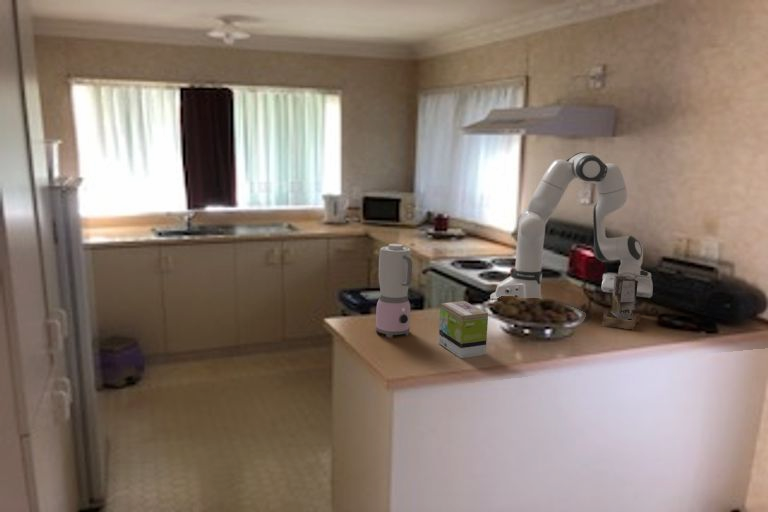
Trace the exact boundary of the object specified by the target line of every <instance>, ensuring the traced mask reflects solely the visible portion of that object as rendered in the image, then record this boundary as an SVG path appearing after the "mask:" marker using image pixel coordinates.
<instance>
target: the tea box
mask: <svg viewBox="0 0 768 512" xmlns="http://www.w3.org/2000/svg"><path fill="white" fill-rule="evenodd" d="M488 321H489V313H488V312H487V311H485V310H483V309H481V308H479V307H477V306H475V305H473V304H471V303H469V302H467V301H465V300H462V301H452V302H451V301H450V302H445V303H443V302H440V307H439V326H438V327H439V330H438V331H439V332H438V344H439V345H441V346H443V347H444V348H446V350H448V351H449V352H450V353H452V354H453V355H455V356H456V357H458V358H459V359H467V358H474V356H475V357H480V356H486V353H487V352H486V351H487V337H488V324H489V323H488Z"/></svg>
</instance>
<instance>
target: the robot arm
mask: <svg viewBox="0 0 768 512" xmlns="http://www.w3.org/2000/svg"><path fill="white" fill-rule="evenodd" d="M574 179H578V180H581V181H584V182H590V183H592V182H594V183H595V185H596V189H597V192H598V193H597V194H598V200H597V203H596V204H595V205H593V212H592V219H593V220H592V221H593V222H592V223H593V255H594V257H595V258H596V259H597V260H599V261H600V262H602V263H604V262H611V261H617V260H618V261H620V265H619V266H618V272H605V273H603V274H602V278H601V279H602V282H601V288H600V289H601V291H602V292H603V293H612V294H613V287H614V277H615V276H630V277H632V278H634V279H635V280H637V281H638V286H637V294H636V297H639V298H640V297H641V298H649V299H650V298H652V297H653V290H654V289H653V287H654V285H653V280H652V273H651V272H649V271H646V270H644V269H642V267H641V266H642V264H643V259H644V249H643V248H644V246H643V245H642V243H641V242H640V241H639V239H636V238H635V237H634V236H632V235H631V236H629V235H626V236H618V237H607V236H606V218H607V216H609V215H611V214H613V213H615V212H617V211H619V210H620V209H621V208H622V207H623V206H624V205H626V203H627V200H628V190H627V187H626V183H625V179H624V175H623V173H622V171H621V169H620V167H619V165H618V164H615V163H613V162H612V163H611V162H609V163H604V162H603V161H602V160H601V159H600V158H599V157H598V156H597V155H594V154H593V153H590V152H586V151H585V152H578V153H575V154H573V156H570V157H569V158H568V159H567V160H566V159H560V158H559V159H555V160H554V161H552V162H551V164H550V165H549V166H548V168H547V169H546V171H545V172H544V174H543V176H542V177H541V180H540V181H539V183H538V184H537V187H536V189H535V190H534V193H533V194H532V196H531V198H530V199H529V201H528V203H527V205H526V207H525V208H524V210H523V212H522V214H521V216H520V217H519V220H518V225H517V226H518V227H517V239H516V252H515V253H516V255H515V266H513V267H512V268H511V269H510V271H509V275H510V276H508V277H507V278H505V279H503V280H502V281H500V282H499V283H498V284H497V286H496V287H495V288H496V289H495V291H494V292H492V293H491V294H490V298H489V299H490V300H491V301H495V300H494V299H497V298H499V297H501V296H515V297H520V298H540V299H542V290H541V283H542V280H543V279H542V277H543V270H542V265H543V254H544V253H543V250H544V245H545V244H544V242H545V236H546V235H545V234H546V224H547V223H548V221H549V220H550V218H551V216H552V215H553V213H554V212H555V210H556V208H557V207H558V205H559V204H560V201H561V200H562V198H563V196H564V194H565V192H566V190H567V189H568V187H569V184H570V183H571V182H572V181H573V180H574ZM542 300H543V299H542Z"/></svg>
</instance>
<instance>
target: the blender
mask: <svg viewBox="0 0 768 512" xmlns="http://www.w3.org/2000/svg"><path fill="white" fill-rule="evenodd" d="M412 276H413V261H412V250H411V248H410V247H406V246H404V245H403V244H401V243H389V244H388V246H383V247H380V249H379V259H378V284H379V290H380V296H379V298H378V301H377V303H376V311H375V313H376V314H375V317H376V318H375V320H376V321H375V330H376V331H377V333H381V334H384V335H385V337H386V338H389V339H392V338H393V337H394V336H397V335H403V334H404V335H405V336H409V334H410V329H411V328H410V325H411V323H410V322H411V303H410V301H409V299H408V292H409V287H410V285H411V284H412V279H413V277H412Z"/></svg>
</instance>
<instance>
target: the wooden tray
mask: <svg viewBox="0 0 768 512" xmlns="http://www.w3.org/2000/svg"><path fill="white" fill-rule="evenodd" d="M609 315H610V310H609V309H608V308H603V311H602V321H601V326H602V325H604V326H603V327H607V326H611V327H610V328H614V327H618V328H617V329H620V328H625V329H624V330H626V329H632V330H631V331H633V330H634V331H635V328H634V327H636V324H637V323H636V322H639V323H640V318H641V314H640V313H634V314H633V317H632V320H628V319H619V318H617V317H611V316H609Z"/></svg>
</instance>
